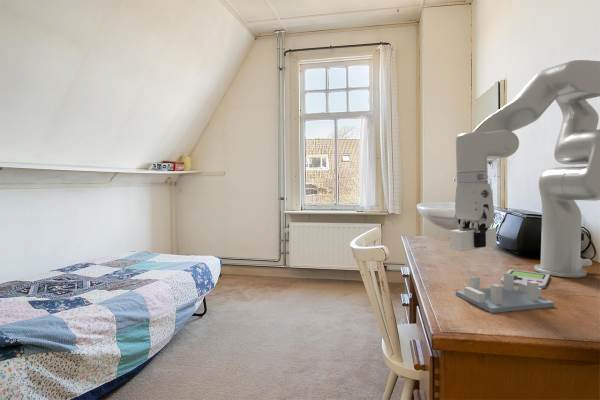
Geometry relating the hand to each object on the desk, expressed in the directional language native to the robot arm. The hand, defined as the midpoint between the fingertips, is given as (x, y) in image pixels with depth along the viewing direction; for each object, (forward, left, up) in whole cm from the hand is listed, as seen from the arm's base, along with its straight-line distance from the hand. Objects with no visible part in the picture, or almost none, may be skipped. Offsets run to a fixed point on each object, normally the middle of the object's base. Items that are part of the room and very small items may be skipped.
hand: (473, 244), depth 95 cm
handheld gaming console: (-16, +1, -11) cm, 20 cm away
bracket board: (+3, +14, -11) cm, 18 cm away
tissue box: (0, 0, -1) cm, 1 cm away
